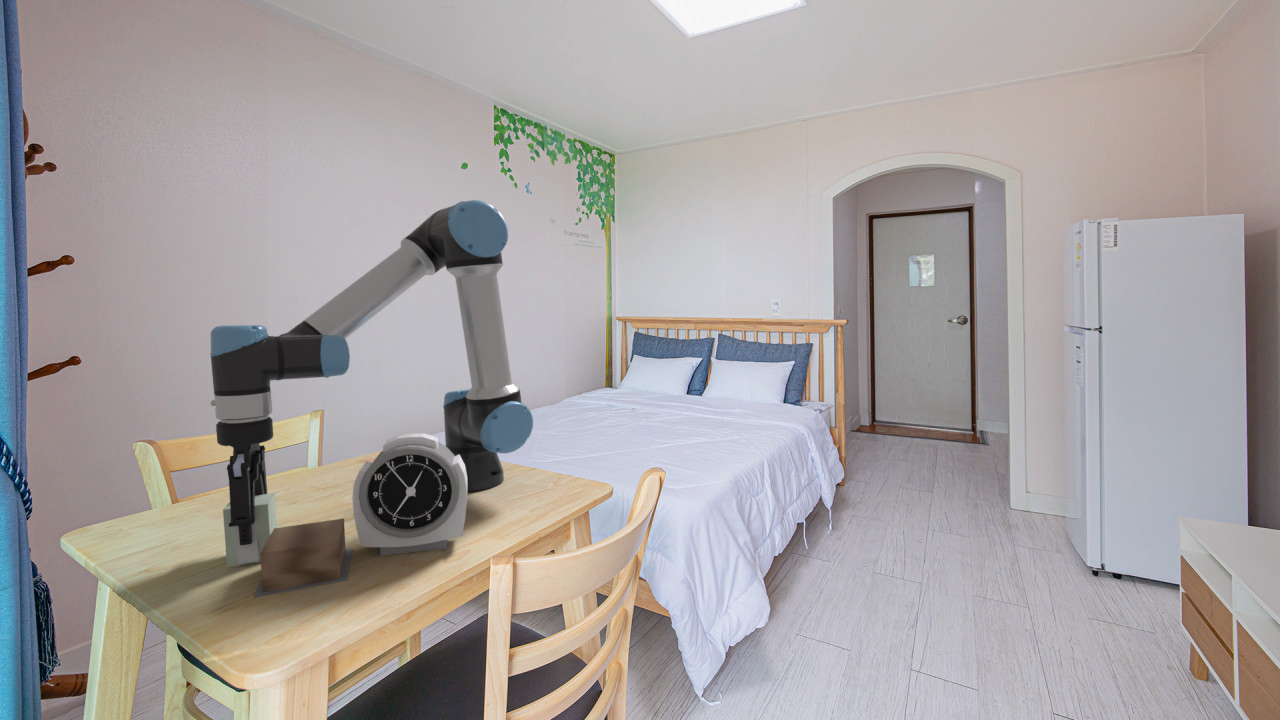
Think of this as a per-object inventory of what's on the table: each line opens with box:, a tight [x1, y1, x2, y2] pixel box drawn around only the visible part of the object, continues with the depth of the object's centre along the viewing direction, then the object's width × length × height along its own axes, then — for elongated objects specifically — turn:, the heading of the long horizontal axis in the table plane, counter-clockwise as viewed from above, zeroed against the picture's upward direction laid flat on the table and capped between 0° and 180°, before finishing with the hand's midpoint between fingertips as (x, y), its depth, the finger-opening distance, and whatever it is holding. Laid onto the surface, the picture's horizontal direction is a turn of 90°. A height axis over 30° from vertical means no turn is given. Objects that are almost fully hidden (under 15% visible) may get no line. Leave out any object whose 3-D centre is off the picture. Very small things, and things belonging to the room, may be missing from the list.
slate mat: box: [252, 548, 353, 599], centre depth 85 cm, size 12×12×1 cm
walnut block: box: [260, 518, 347, 593], centre depth 85 cm, size 10×10×6 cm
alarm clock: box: [351, 432, 468, 557], centre depth 94 cm, size 18×8×20 cm, turn 106°
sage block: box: [222, 492, 278, 568], centre depth 90 cm, size 6×6×10 cm
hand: (253, 553), depth 90 cm, fingers closed on sage block, 6 cm apart
